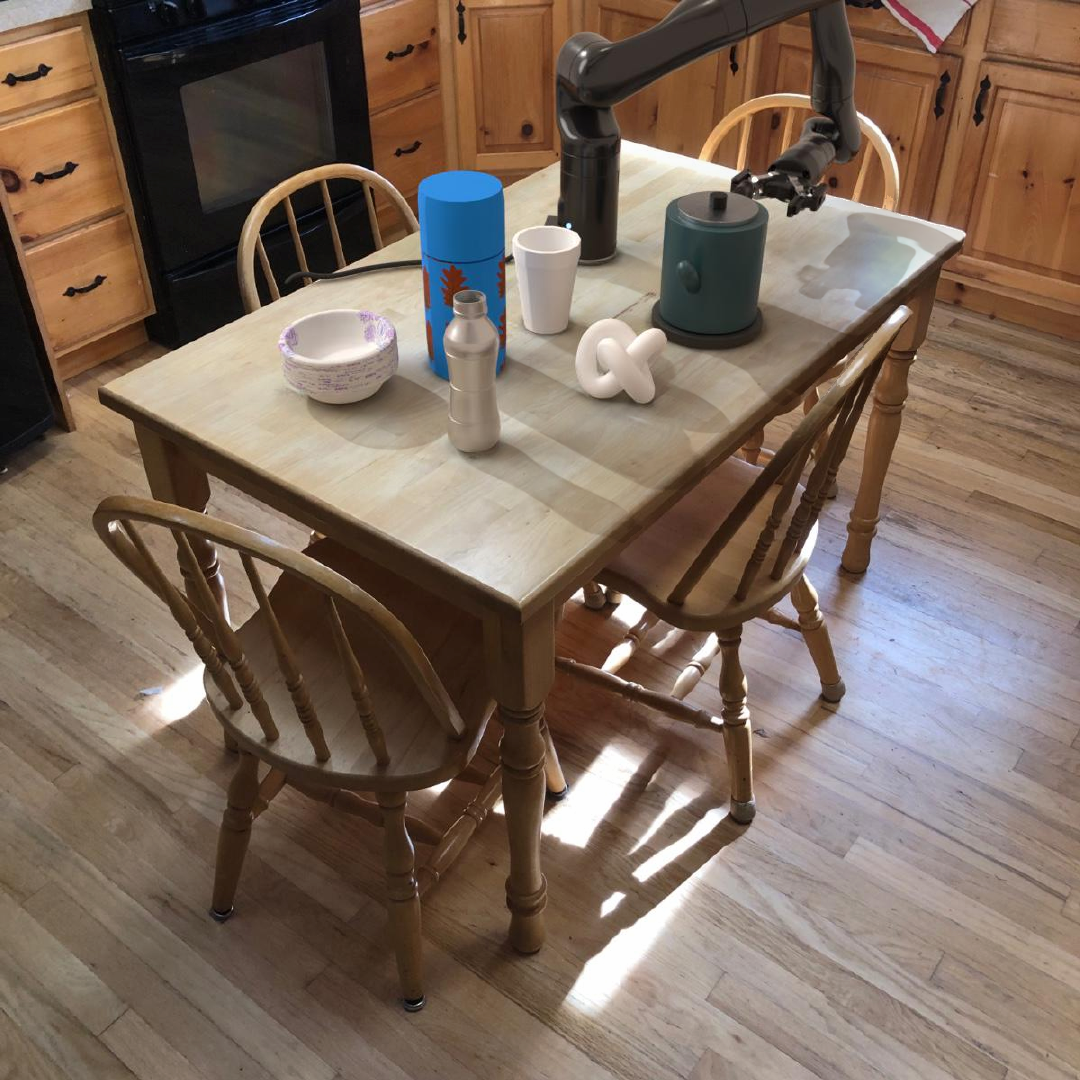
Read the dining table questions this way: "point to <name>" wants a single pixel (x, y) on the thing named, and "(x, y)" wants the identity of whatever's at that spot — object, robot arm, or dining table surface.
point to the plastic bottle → (472, 374)
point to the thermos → (461, 253)
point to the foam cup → (546, 275)
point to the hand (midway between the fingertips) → (762, 205)
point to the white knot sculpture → (618, 360)
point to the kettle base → (707, 340)
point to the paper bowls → (339, 354)
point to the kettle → (713, 260)
